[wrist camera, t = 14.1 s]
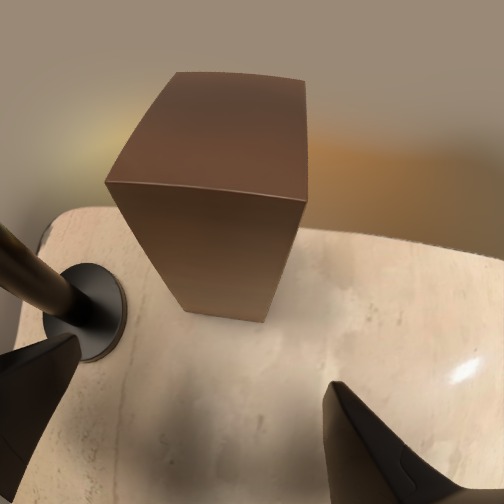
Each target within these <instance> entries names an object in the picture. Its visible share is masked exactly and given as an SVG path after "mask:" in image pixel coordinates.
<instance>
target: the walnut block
mask: <svg viewBox="0 0 504 504" xmlns="http://www.w3.org/2000/svg"><path fill="white" fill-rule="evenodd" d="M307 150H308V145H307V110H306V88H305V81H302V80H296V79H290V78H282V77H275V76H266V75H256V74H243V73H225V72H177V73H176V74H175V75H174V76H173V77H172V78H171V80H170V81H169V82H168V83H167V85H166V86H165V87H164V89H163V90H162V91H161V93H160V94H159V95H158V97H157V98H156V99H155V101H154V102H153V104H152V105H151V106H150V108H149V109H148V111H147V112H146V113H145V115H144V117H143V118H142V119H141V121H140V122H139V124H138V125H137V127H136V128H135V130H134V132H133V133H132V135H131V136H130V138H129V139H128V141H127V143H126V144H125V146H124V148H123V149H122V151H121V153H120V154H119V156H118V158H117V160H116V161H115V163H114V165H113V167H112V169H111V170H110V172H109V174H108V176H107V178H106V180H105V185H106V187H107V188H108V190H109V192H110V194H111V196H112V198H113V199H114V201H115V203H116V205H117V207H118V208H119V210H120V212H121V214H122V215H123V217H124V219H125V220H126V222H127V224H128V226H129V227H130V229H131V231H132V232H133V234H134V235H135V237H136V239H137V240H138V242H139V244H140V245H141V247H142V248H143V250H144V252H145V253H146V255H147V256H148V258H149V259H150V261H151V263H152V264H153V266H154V267H155V269H156V270H157V272H158V273H159V275H160V276H161V278H162V279H163V281H164V282H165V284H166V285H167V287H168V288H169V290H170V291H171V292H172V294H173V295H174V297H175V298H176V300H177V301H178V302H179V304H180V305H181V307H182V308H183V309H184V311H188V312H194V313H200V314H206V315H212V316H219V317H225V318H232V319H239V320H246V321H254V322H262V323H263V322H264V320H265V317H266V315H267V312H268V310H269V307H270V305H271V302H272V299H273V297H274V294H275V291H276V289H277V286H278V283H279V281H280V278H281V275H282V273H283V270H284V267H285V265H286V262H287V259H288V256H289V254H290V251H291V248H292V245H293V242H294V240H295V237H296V234H297V231H298V228H299V226H300V223H301V220H302V217H303V214H304V211H305V208H306V205H307V202H308V151H307Z"/></svg>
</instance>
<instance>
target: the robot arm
mask: <svg viewBox="0 0 504 504" xmlns="http://www.w3.org/2000/svg"><path fill="white" fill-rule="evenodd" d="M81 357H82V350H81V346H80V342H79V338H78V336H77V335H76V334H73V333H70V332H66V333H63V334H60V335H57V336H55V337H52V338H49V339H46V340H43V341H40V342H37V343H34V344H31V345H29V346H26V347H23V348H20V349H17V350H14V351H11V352H8V353H5V354H2V355H0V495H1V496H2V497H3V498H5V499H6V500H7V501H9V502H10V503H12V502H13V500H14V498H15V495H16V492H17V490H18V487H19V485H20V482H21V480H22V477H23V475H24V473H25V470H26V468H27V465H28V463H29V461H30V459H31V457H32V455H33V452H34V450H35V448H36V446H37V444H38V442H39V440H40V438H41V436H42V434H43V432H44V430H45V428H46V426H47V424H48V422H49V421H50V419H51V417H52V415H53V413H54V411H55V409H56V408H57V406H58V404H59V402H60V400H61V399H62V397H63V395H64V393H65V392H66V390H67V388H68V386H69V384H70V381H71V379H72V377H73V375H74V373H75V370H76V368H77V366H78V364H79V362H80V360H81ZM323 442H324V450H325V457H326V465H327V472H328V480H329V489H330V498H331V504H504V489H468V488H464V487H461V486H459V485H457V484H455V483H454V482H452V481H451V480H450V479H448V478H447V477H445V476H444V475H443V474H441V473H440V472H438V471H437V470H436V469H434V468H433V467H432V466H430V465H429V464H428V463H427V462H425V461H424V460H423V459H422V458H420V457H419V456H418V455H417V454H416V453H415V452H414V451H413V450H412V449H410V448H409V447H408V446H407V445H406V444H404V442H403V441H402V440H401V439H400V438H399V437H398V436H397V435H396V434H395V433H394V432H393V431H392V430H391V429H390V428H389V427H388V426H387V425H386V424H385V423H384V422H383V421H382V420H381V419H380V418H379V417H378V416H377V415H376V414H375V413H374V412H373V411H372V410H371V409H370V408H369V407H368V406H367V405H366V404H365V403H364V402H363V401H362V400H361V399H360V398H359V397H358V396H357V395H356V394H355V393H354V392H353V391H352V390H351V389H350V388H349V387H348V386H347V385H346V384H345V383H344V382H342V381H331V382H330V383H329V385H328V388H327V390H326V393H325V395H324V398H323Z"/></svg>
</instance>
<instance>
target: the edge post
mask: <svg viewBox="0 0 504 504" xmlns="http://www.w3.org/2000/svg"><path fill="white" fill-rule="evenodd" d="M0 287H2V288H3V289H5V290H7V291H9V292H10V293H12V294H13V295H15V296H17V297H18V298H20V299H22V300H24V301H25V302H27V303H29V304H31V305H32V306H34V307H36V308H38V309H40V310H42V311H43V326H44V330H45V333H46V336H47V338H48V339H49V338H52V337H55V336H57V335H60V334H63V333H66V332H70V333H73V334H76V335H77V336H78V338H79V342H80V346H81V350H82V357H81V360H80V362H84V363H86V362H93V361H96V360H98V359H100V358H102V357H104V356H105V355H107V354H108V353H109V352H110V351H111V350H112V349H113V348H114V347H115V346H116V344H117V343H118V341H119V339H120V337H121V335H122V333H123V330H124V327H125V323H126V316H127V305H126V298H125V294H124V292H123V289H122V287H121V285H120V283H119V282H118V280H117V279H116V278H115V277H114V276H113V275H112V274H111V273H110V272H109V271H108V270H107V269H105V268H104V267H102V266H100V265H97V264H93V263H80V264H77V265H74V266H71V267H70V268H68V269H66V270H65V271H63V272H62V273H61V274H60V275H59V274H58V273H57V272H56V271H54V270H53V269H52V268H51V267H49V266H48V265H47V264H46V263H44V262H43V261H42V260H41V259H40V258H38V257H37V256H36V255H35V254H34V253H33V252H32V251H30V250H29V249H28V248H27V247H26V246H25V245H24V244H22V243H21V242H20V241H19V240H18V239H17V238H16V237H15V236H14V235H13V234H12V233H11V232H10V231H9V230H8V229H7V228H5V227H4V226H3V225H2V224H1V223H0Z"/></svg>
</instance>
